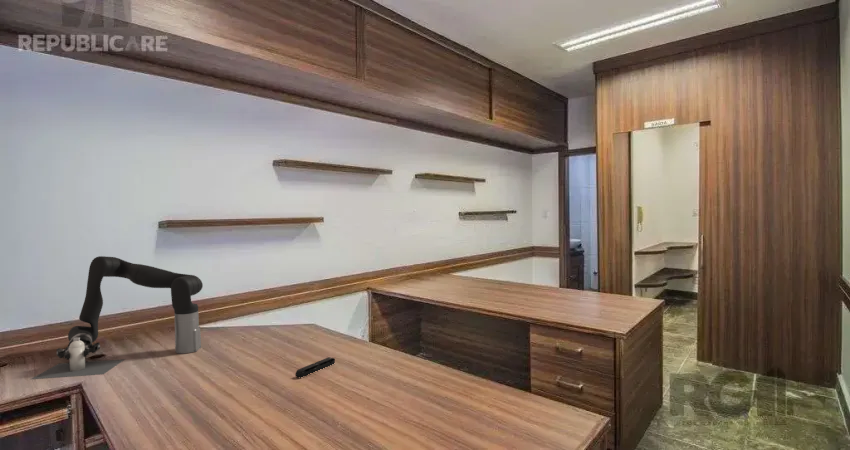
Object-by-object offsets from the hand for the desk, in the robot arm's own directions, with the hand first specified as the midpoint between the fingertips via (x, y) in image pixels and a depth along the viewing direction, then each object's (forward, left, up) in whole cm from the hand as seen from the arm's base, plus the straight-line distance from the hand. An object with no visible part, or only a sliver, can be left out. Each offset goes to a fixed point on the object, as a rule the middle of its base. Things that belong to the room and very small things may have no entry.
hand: (76, 355), depth 159 cm
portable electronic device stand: (-91, +16, -7) cm, 93 cm away
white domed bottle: (+1, -2, -6) cm, 7 cm away
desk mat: (0, -2, -7) cm, 7 cm away
